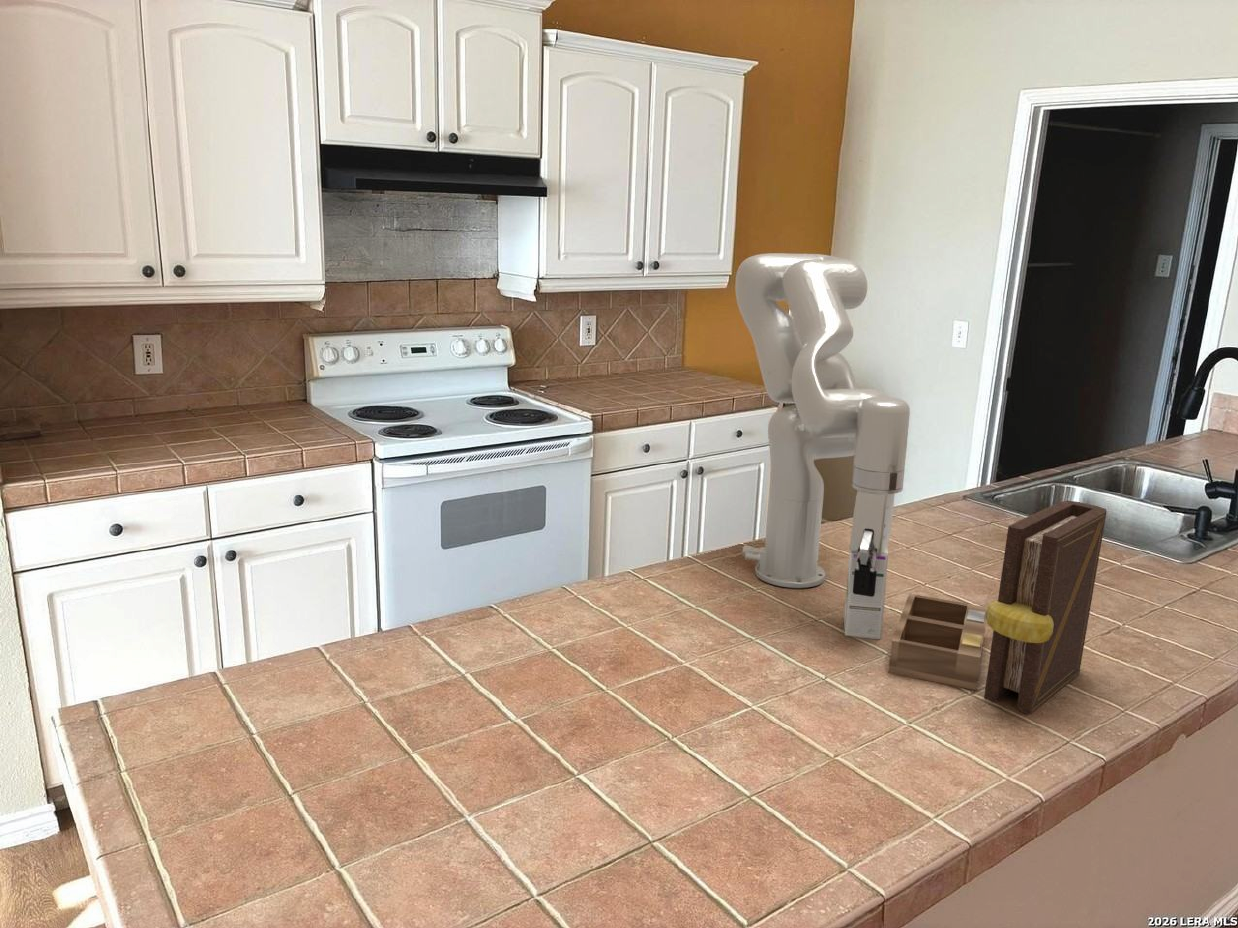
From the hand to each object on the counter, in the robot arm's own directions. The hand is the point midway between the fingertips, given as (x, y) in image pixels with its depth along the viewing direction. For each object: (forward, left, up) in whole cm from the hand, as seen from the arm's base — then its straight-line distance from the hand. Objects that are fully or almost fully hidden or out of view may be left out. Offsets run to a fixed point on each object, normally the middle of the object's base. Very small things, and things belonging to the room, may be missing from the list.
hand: (868, 584), depth 149 cm
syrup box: (0, +1, -8) cm, 8 cm away
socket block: (+12, -2, -8) cm, 14 cm away
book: (+25, -8, -8) cm, 27 cm away
